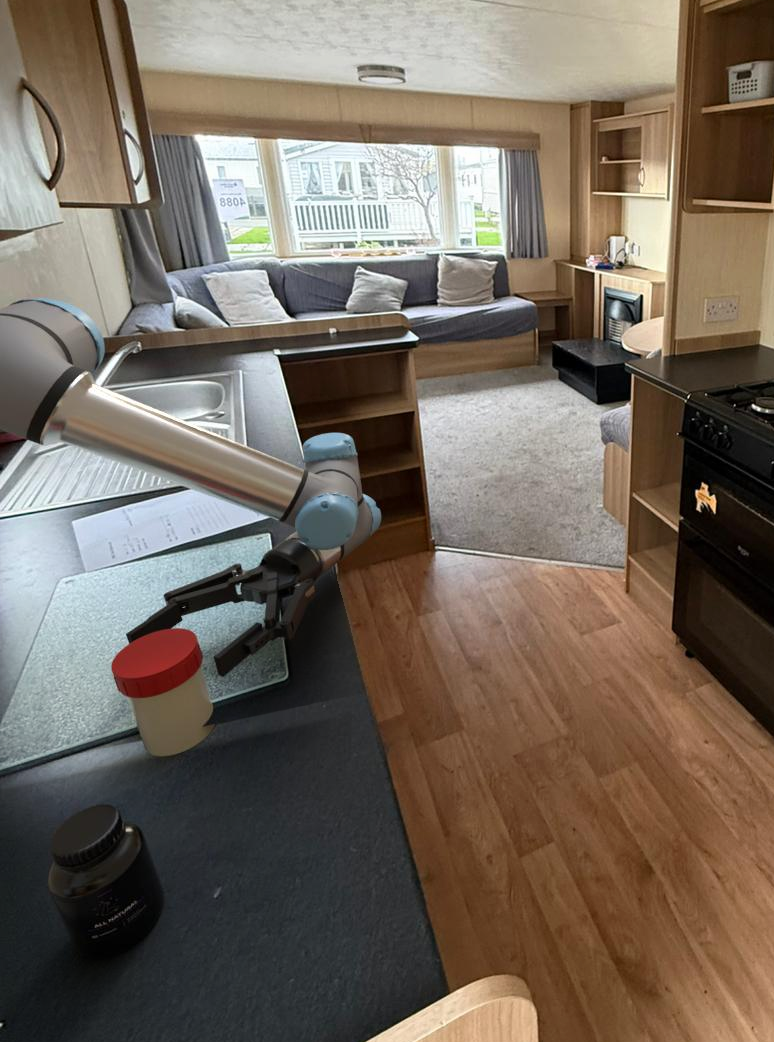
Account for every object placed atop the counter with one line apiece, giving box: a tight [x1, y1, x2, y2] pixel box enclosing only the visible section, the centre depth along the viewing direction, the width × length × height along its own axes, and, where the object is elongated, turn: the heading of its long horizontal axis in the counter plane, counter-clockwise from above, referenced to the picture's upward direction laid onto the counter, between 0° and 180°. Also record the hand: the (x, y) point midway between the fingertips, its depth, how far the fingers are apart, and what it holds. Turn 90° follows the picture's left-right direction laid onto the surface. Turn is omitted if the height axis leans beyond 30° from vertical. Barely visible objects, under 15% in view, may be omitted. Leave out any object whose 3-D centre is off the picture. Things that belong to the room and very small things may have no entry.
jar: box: [125, 665, 216, 757], centre depth 77 cm, size 8×8×12 cm
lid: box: [110, 627, 204, 698], centre depth 75 cm, size 8×8×3 cm
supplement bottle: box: [46, 803, 165, 960], centre depth 57 cm, size 7×7×12 cm
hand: (173, 655), depth 77 cm, fingers open, 13 cm apart
